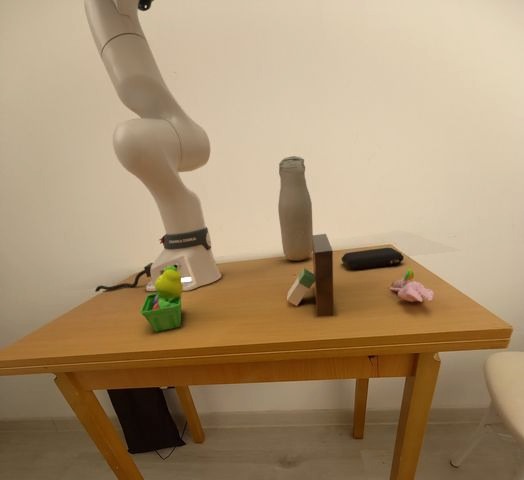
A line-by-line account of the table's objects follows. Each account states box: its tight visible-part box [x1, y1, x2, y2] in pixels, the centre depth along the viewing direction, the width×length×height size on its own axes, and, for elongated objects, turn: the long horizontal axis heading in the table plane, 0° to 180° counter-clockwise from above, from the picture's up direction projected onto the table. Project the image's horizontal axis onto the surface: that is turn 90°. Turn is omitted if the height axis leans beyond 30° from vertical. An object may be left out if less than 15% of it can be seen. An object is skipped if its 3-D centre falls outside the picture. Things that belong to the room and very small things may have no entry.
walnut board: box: [312, 233, 334, 317], centre depth 60 cm, size 3×16×12 cm, turn 174°
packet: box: [286, 267, 315, 307], centre depth 62 cm, size 6×5×7 cm
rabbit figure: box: [389, 268, 435, 303], centre depth 56 cm, size 6×6×15 cm
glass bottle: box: [277, 155, 314, 262], centre depth 87 cm, size 10×10×28 cm
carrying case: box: [340, 247, 405, 271], centre depth 79 cm, size 11×3×15 cm
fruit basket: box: [140, 266, 183, 333], centre depth 61 cm, size 11×9×11 cm
